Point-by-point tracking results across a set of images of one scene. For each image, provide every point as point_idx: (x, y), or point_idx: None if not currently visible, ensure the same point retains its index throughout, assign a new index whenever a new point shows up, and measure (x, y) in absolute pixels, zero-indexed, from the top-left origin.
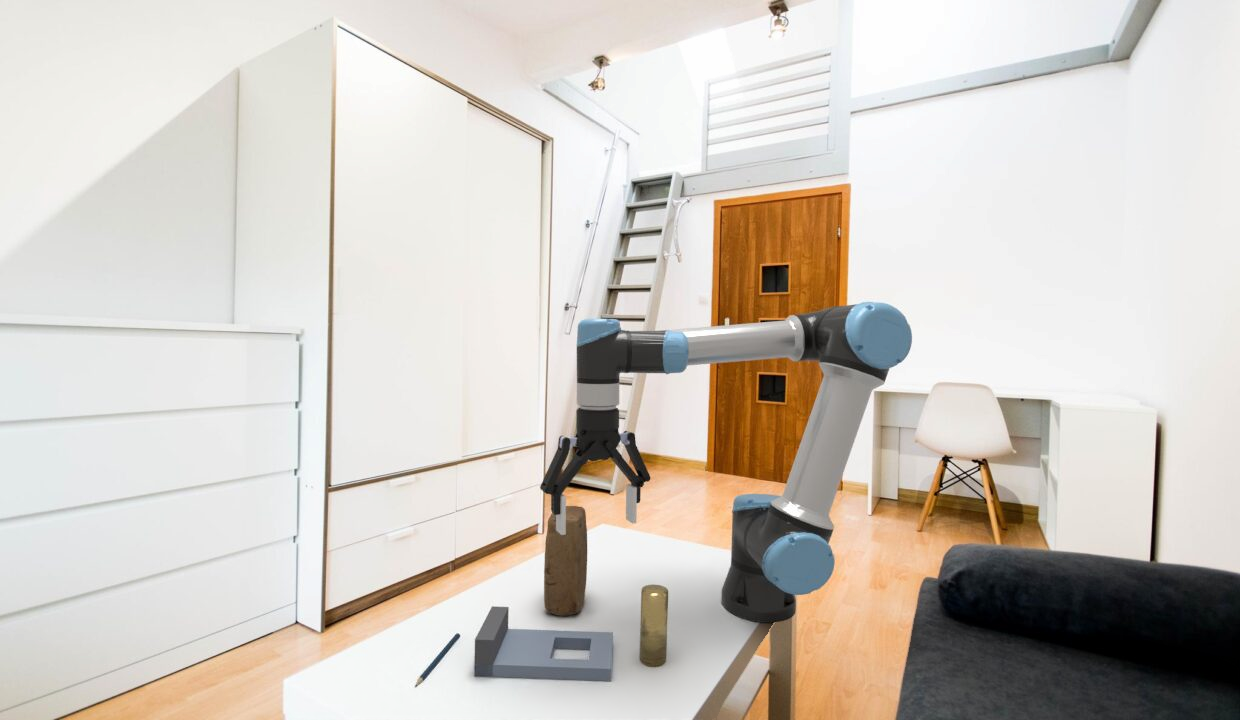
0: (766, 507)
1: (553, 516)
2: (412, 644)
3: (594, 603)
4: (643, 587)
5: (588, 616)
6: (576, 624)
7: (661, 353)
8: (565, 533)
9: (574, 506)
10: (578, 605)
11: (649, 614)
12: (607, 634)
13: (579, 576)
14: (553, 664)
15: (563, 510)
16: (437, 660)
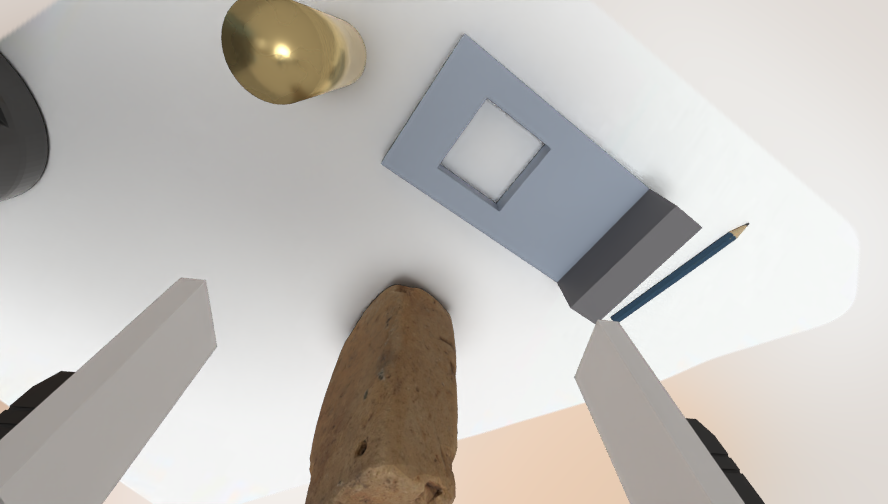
0: None
1: None
2: (680, 331)
3: (342, 302)
4: (301, 95)
5: (378, 268)
6: (414, 255)
7: None
8: (599, 323)
9: None
10: (393, 291)
11: (329, 26)
12: (396, 163)
13: (387, 328)
14: (558, 124)
15: (676, 425)
16: (685, 268)
